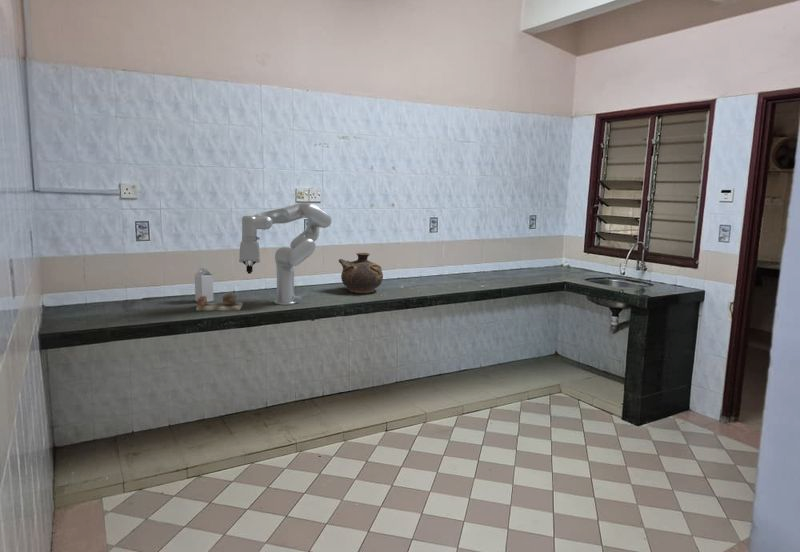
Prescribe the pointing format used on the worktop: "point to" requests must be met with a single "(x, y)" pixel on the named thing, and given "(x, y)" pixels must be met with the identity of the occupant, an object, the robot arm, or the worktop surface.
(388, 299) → the worktop surface
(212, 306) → the rail board
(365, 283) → the vessel
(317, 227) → the robot arm
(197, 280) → the milk carton
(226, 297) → the keeper
